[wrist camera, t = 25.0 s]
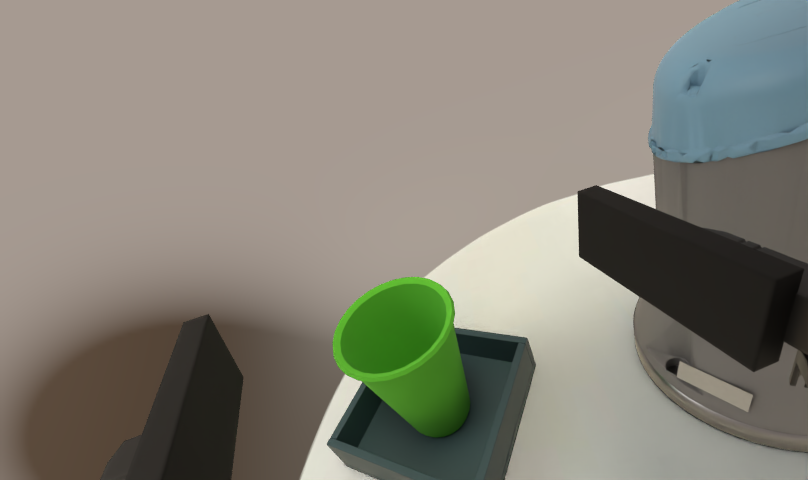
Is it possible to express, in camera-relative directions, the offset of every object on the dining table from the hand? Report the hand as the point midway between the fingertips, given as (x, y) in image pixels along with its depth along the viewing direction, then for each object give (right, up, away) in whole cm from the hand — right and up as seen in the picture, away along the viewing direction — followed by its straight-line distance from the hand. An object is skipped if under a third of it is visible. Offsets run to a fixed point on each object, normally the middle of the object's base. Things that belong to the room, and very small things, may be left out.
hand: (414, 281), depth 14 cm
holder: (+3, -13, +20) cm, 24 cm away
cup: (+3, -13, +20) cm, 24 cm away
